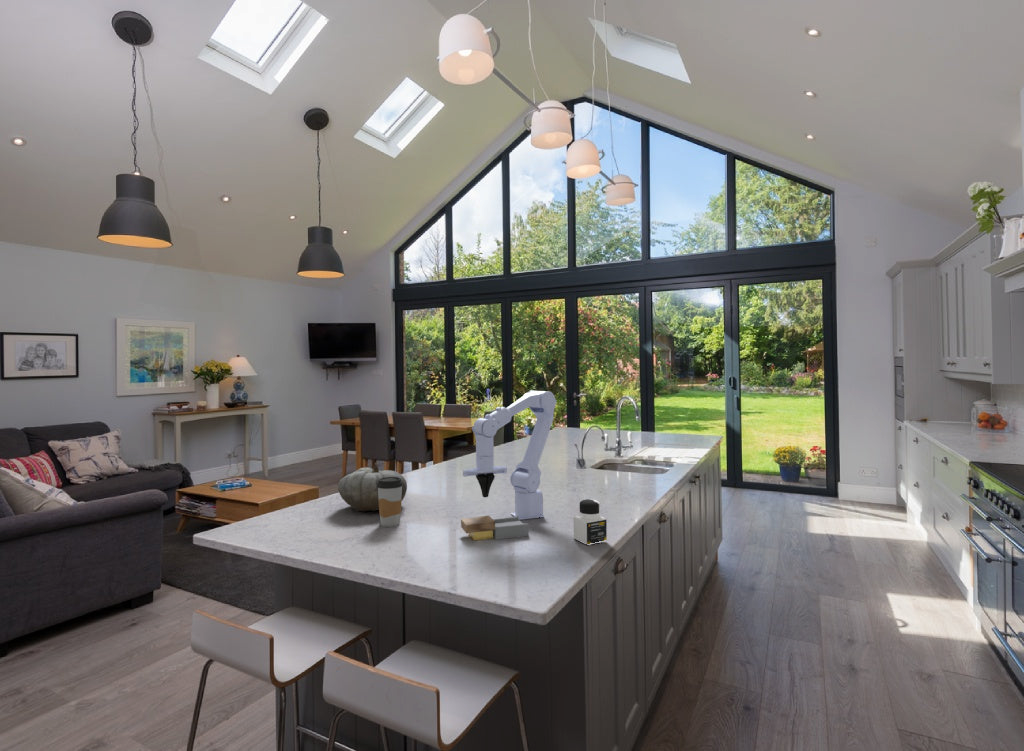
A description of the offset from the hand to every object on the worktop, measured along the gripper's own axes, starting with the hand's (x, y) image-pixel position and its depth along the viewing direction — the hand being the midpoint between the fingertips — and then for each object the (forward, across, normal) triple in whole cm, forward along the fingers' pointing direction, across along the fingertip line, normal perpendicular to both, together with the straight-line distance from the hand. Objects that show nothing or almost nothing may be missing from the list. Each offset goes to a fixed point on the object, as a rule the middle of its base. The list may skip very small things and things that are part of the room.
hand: (485, 496), depth 180 cm
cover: (+7, +6, +10) cm, 14 cm away
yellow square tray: (+9, +5, +11) cm, 15 cm away
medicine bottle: (+10, -24, +27) cm, 37 cm away
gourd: (+10, +32, -37) cm, 50 cm away
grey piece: (+9, -4, +11) cm, 15 cm away
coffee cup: (+10, +29, -13) cm, 33 cm away
